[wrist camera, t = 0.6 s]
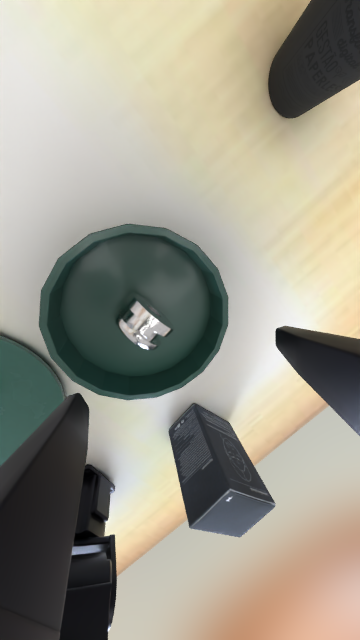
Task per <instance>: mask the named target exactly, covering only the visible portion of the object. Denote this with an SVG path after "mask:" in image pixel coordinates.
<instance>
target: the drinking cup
mask: <svg viewBox="0 0 360 640" xmlns="http://www.w3.org/2000/svg"><path fill="white" fill-rule="evenodd" d="M358 80H360V0H311V1H310V3H309V4H308V6H307V7H306V9H305V11H304V12H303V14H302V15H301V17H300V18H299V20H298V21H297V23H296V24H295V26H294V27H293V29H292V31H291V32H290V34H289V35H288V37H287V38H286V40H285V41H284V43H283V44H282V46H281V47H280V49H279V51H278V52H277V54H276V55H275V57H274V60H273V62H272V65H271V68H270V73H269V94H270V98H271V101H272V104H273V106H274V107H275V109H276V110H277V112H278V113H279V114H281V115H282V116H284V117H286V118H295V117H298V116H300V115H302V114H303V113H305V112H307V111H308V110H310V109H312V108H313V107H315V106H317V105H318V104H320V103H322V102H323V101H325V100H327V99H328V98H330V97H332V96H333V95H335V94H337V93H338V92H340V91H341V90H343V89H345V88H346V87H348V86H350V85H351V84H353V83H355V82H356V81H358Z"/></svg>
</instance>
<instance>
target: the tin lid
mask: <svg viewBox="0 0 360 640" xmlns="http://www.w3.org/2000/svg"><path fill="white" fill-rule="evenodd" d="M64 400H65V396H64V391H63V388H62V386H61V383H60V381H59V379H58V378H57V376H56V375H55V373H54V372H53V370H52V369H51V368H50V367H49V366H48V365H47V364H46V363H45V362H44V361H43V360H42V359H41V358H40V357H39V356H37V355H36V354H35V353H33V352H32V351H30V350H29V349H27V348H26V347H24V346H22V345H20V344H19V343H17V342H14V341H12V340H10V339H8V338H5V337H3V336H0V466H1V465H2V464H3V463H4V462H5V461H6V460H7V459H8V458H9V457H10V456H11V455H12V454H13V453H14V452H15V451H16V450H17V449H18V448H19V447H20V446H21V445H22V444H23V442H24V441H25V440H26V439H27V438H28V437H29V436H30V435H31V434H32V433H33V432H34V431H35V430H36V429H37V428H38V427H39V426H40V425H41V424H42V423H43V422H44V421H45V420H46V419H47V418H48V417H49V416H50V414H51V413H52V412H53V411H54V410H55V409H56V408H57V407H58V406H59V405H60V404H61V403H62V402H63V401H64Z"/></svg>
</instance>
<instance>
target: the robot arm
mask: <svg viewBox="0 0 360 640" xmlns="http://www.w3.org/2000/svg"><path fill="white" fill-rule="evenodd" d="M276 346H277V348H278V350H279V351H280V352H281V353H282V354H283V356H284V357H285V358H286V359H287V361H288V362H289V363H290V364H291V366H292V367H293V368H294V369H295V370H296V372H297V373H298V374H299V375H300V376H301V377H302V378H303V379H304V380H305V381H306V382H307V383H308V384H309V385H310V386H311V387H312V388H313V389H314V390H315V391H316V392H317V393H318V394H319V395H320V396H321V397H322V398H323V399H324V400H325V401H326V402H327V403H328V404H329V405H330V406H331V407H332V408H333V409H334V410H335V411H336V413H337V414H338V415H339V416H340V417H341V418H342V419H344V420H345V422H346V423H347V424H348V425H349V426H350V427H351V428H352V429H353V430H354V431H356V433H357V434H358V435H359V436H360V339H356V338H351V337H345V336H339V335H334V334H328V333H323V332H317V331H311V330H306V329H300V328H294V327H289V326H283V327H280V328H277V329H276ZM88 429H89V407H88V405H87V403H86V402H85V400H84V399H83V397H82V395H81V394H80V393H76V394H73V395H70V396H68V397H67V398H66V399H65V400H64V401H63V402H62V403H61V404H60V405H59V406H58V407H57V408H56V409H55V410H54V411H53V412H52V413H51V414H50V416H49V417H48V418H47V419H46V420H45V421H44V422H43V423H42V424H41V425H40V426H39V427H38V428H37V429H36V430H35V431H34V432H33V433H32V434H31V435H30V436H29V437H28V438H27V439H26V440H25V441H24V442H23V444H22V445H21V446H20V447H19V448H18V449H17V450H16V451H15V452H14V453H13V454H12V455H11V456H10V457H9V458H8V459H7V460H6V461H5V462H4V463H3V464H2V465H1V466H0V640H108V630H109V629H110V627H111V623H112V619H113V615H114V608H115V600H116V586H117V585H116V584H117V575H116V552H115V535H110V536H104V532H105V522H106V521H107V520H108V518H109V505H110V494H111V493H113V492H114V491H115V486H114V485H113V484H112V483H111V482H110V481H108V480H107V479H106V478H105V477H104V476H103V475H101V474H100V473H99V472H98V471H97V470H96V469H94V468H93V467H92V466H91V465H87V466H85V463H86V456H87V449H88Z"/></svg>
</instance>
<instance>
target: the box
mask: <svg viewBox="0 0 360 640" xmlns="http://www.w3.org/2000/svg"><path fill="white" fill-rule="evenodd" d="M169 436H170V440H171V445H172V450H173V454H174V459H175V463H176V468H177V472H178V478H179V482H180V487H181V491H182V496H183V500H184V504H185V509H186V514H187V518H188V522H189V527H190V528H191V529H197V530H202V531H208V532H213V533H219V534H224V535H230V536H235V537H241V536H242V535H243V534H245V533H246V532H247V531H248V530H249V529H250V528H251V527H253V526H254V525H255V524H256V523H257V522H258V521H259V520H261V519H262V518H263V517H264V516H265V515H266V514H267V513H269V512H270V511H271V510H272V509H273V508H274V507H275V502H274V500H273V499H272V497H271V495H270V494H269V492H268V490H267V488H266V487H265V485H264V483H263V481H262V480H261V478H260V476H259V474H258V472H257V471H256V469H255V467H254V465H253V464H252V462H251V460H250V458H249V457H248V455H247V453H246V451H245V450H244V448H243V446H242V444H241V443H240V441H239V439H238V437H237V435H236V434H235V432H234V430H233V428H232V427H231V425H230V423H229V422H227V421H225V420H223V419H222V418H220V417H218V416H216V415H214V414H213V413H211V412H209V411H207V410H205V409H204V408H202V407H200V406H198V405H196V404H193V405H192V406H191V407H190V408H189V409H188V410H187V411H186V412H185V413H184V414H183V415H182V416H181V417H180V418H179V420H178V421H177V422H176V423H175V424H174V425H173V426H172V427H171V428H170V429H169Z"/></svg>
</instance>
